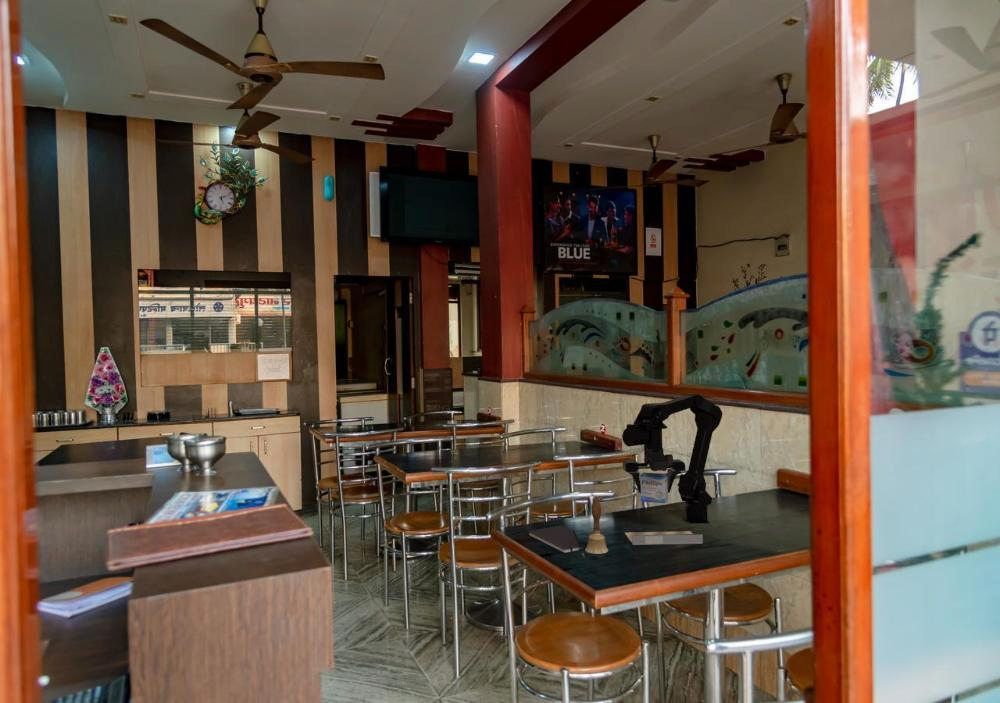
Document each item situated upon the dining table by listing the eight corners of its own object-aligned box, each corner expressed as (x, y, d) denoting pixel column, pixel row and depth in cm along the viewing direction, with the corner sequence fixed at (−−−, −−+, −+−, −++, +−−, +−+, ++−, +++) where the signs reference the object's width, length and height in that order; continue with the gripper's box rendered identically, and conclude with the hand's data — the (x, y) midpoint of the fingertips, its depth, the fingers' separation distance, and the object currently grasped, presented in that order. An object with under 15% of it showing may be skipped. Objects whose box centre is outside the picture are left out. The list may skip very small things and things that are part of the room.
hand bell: (609, 550, 179) (608, 494, 179) (614, 560, 170) (612, 501, 170) (580, 550, 179) (579, 495, 179) (583, 560, 170) (582, 502, 171)
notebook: (601, 547, 183) (561, 530, 202) (600, 542, 183) (561, 525, 202) (564, 554, 177) (527, 536, 196) (564, 549, 177) (527, 531, 196)
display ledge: (690, 536, 190) (690, 531, 190) (702, 548, 178) (702, 543, 178) (624, 537, 191) (624, 532, 191) (633, 549, 179) (632, 544, 179)
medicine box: (640, 501, 197) (639, 474, 197) (643, 498, 201) (643, 471, 201) (665, 503, 194) (664, 475, 194) (668, 500, 198) (667, 473, 198)
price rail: (701, 542, 179) (701, 533, 179) (702, 543, 178) (702, 534, 178) (632, 543, 179) (632, 535, 179) (633, 544, 178) (632, 536, 178)
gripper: (628, 448, 190) (630, 499, 189) (690, 446, 189) (691, 498, 189) (621, 442, 201) (622, 491, 201) (679, 441, 201) (680, 490, 201)
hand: (654, 492), depth 197 cm, fingers closed on medicine box, 9 cm apart
